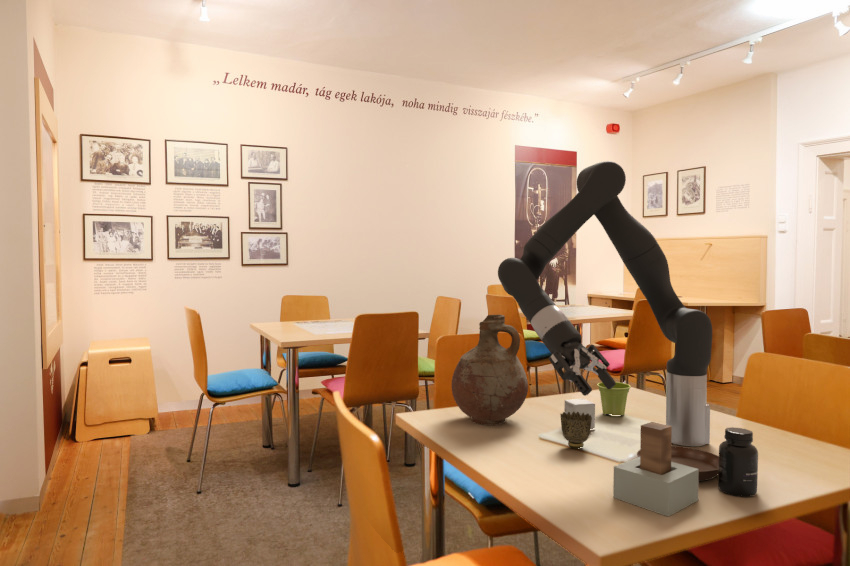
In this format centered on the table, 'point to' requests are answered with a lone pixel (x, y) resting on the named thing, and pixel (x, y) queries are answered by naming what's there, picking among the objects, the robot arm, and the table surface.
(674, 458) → the plant saucer
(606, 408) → the plant pot
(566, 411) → the product box
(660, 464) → the brown wooden bar
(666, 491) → the socket block
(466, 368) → the jug
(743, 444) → the supplement bottle
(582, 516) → the table surface
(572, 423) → the cup
